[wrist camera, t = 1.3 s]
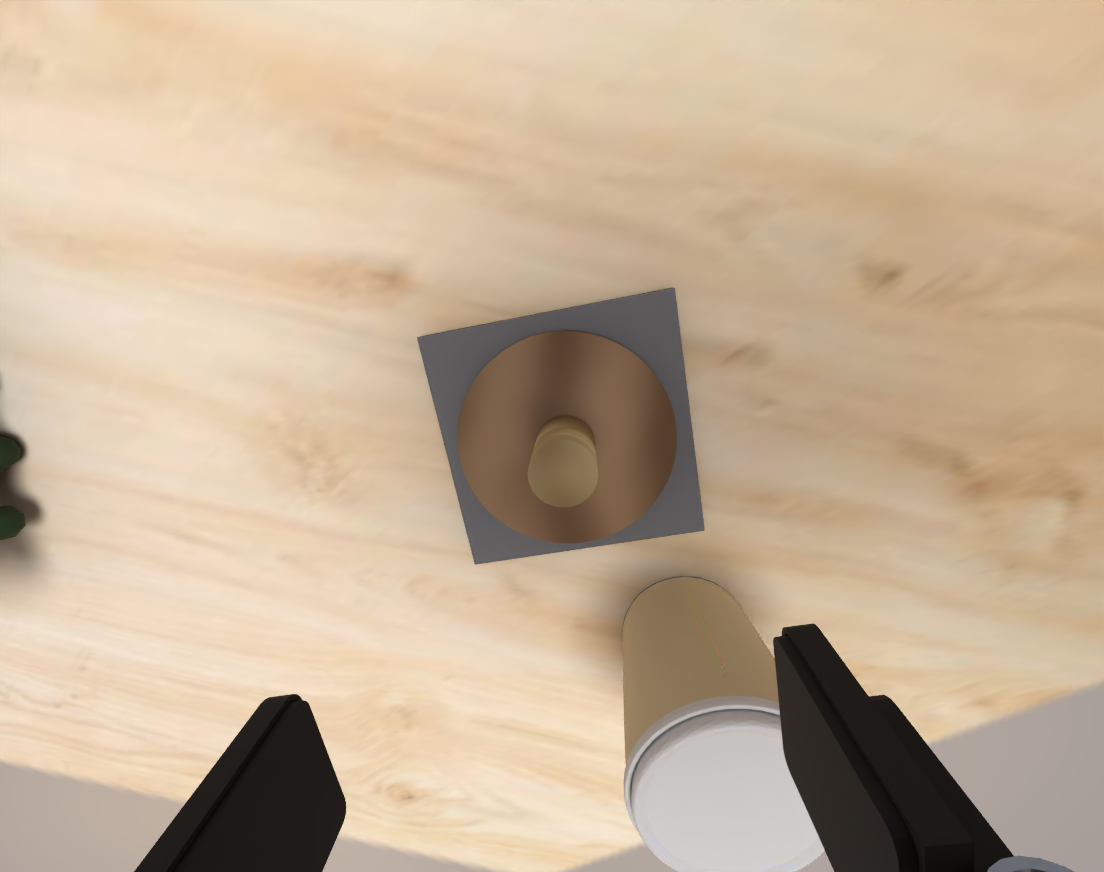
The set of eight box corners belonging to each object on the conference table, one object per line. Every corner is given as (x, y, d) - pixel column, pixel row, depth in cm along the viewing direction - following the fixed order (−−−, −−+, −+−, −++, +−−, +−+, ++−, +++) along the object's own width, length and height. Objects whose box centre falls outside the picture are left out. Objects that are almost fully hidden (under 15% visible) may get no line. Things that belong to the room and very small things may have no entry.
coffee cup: (711, 710, 35) (777, 919, 23) (585, 656, 34) (588, 843, 23) (786, 600, 32) (901, 773, 21) (651, 540, 32) (693, 684, 20)
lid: (657, 310, 27) (679, 315, 21) (685, 517, 30) (711, 572, 24) (439, 352, 29) (401, 369, 23) (487, 547, 32) (465, 607, 26)
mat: (672, 287, 28) (674, 287, 27) (702, 525, 31) (704, 530, 31) (420, 336, 29) (417, 337, 28) (476, 559, 33) (474, 564, 32)
